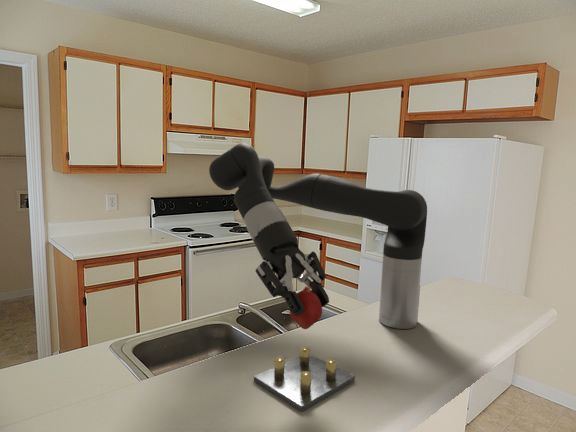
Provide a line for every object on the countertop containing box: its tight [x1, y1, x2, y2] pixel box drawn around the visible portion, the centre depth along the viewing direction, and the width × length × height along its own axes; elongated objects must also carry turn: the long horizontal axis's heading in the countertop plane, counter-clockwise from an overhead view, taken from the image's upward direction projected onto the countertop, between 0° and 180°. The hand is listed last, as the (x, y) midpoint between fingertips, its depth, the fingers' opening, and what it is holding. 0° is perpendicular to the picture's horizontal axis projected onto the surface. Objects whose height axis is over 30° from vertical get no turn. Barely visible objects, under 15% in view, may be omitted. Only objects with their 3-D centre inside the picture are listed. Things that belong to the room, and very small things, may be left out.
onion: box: [289, 285, 323, 330], centre depth 73 cm, size 6×6×8 cm
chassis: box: [253, 346, 356, 413], centre depth 75 cm, size 14×12×4 cm
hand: (313, 308), depth 72 cm, fingers closed on onion, 5 cm apart
